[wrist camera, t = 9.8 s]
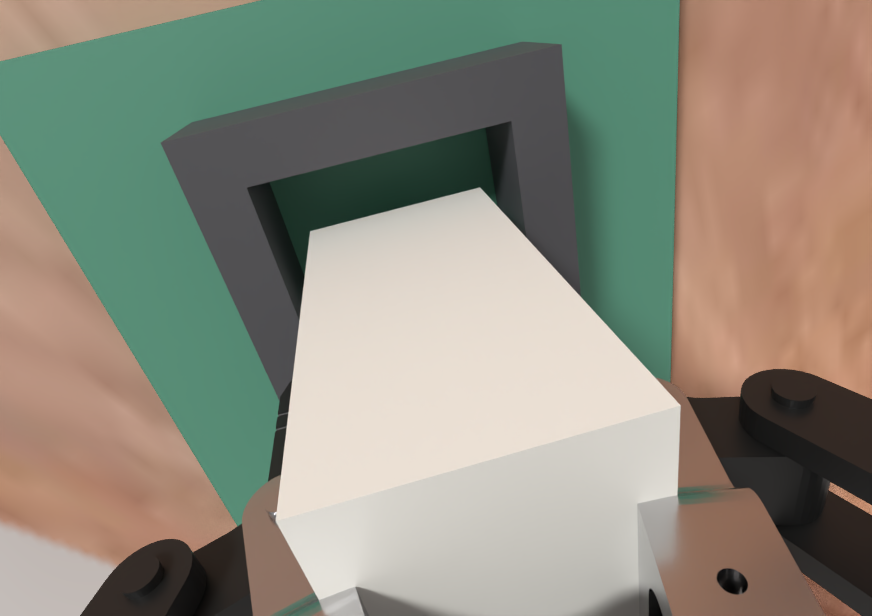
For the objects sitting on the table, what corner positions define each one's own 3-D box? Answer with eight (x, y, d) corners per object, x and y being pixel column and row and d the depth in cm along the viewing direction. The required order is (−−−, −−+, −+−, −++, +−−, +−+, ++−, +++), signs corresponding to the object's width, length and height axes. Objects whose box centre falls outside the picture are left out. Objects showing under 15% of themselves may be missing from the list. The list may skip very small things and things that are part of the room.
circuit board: (657, -90, 13) (761, -128, 10) (655, 409, 20) (711, 476, 17) (-12, 67, 12) (-132, 81, 9) (253, 523, 20) (238, 614, 17)
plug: (479, 187, 12) (681, 405, 5) (518, 414, 15) (669, 730, 8) (310, 231, 12) (275, 521, 5) (387, 451, 15) (431, 806, 8)
